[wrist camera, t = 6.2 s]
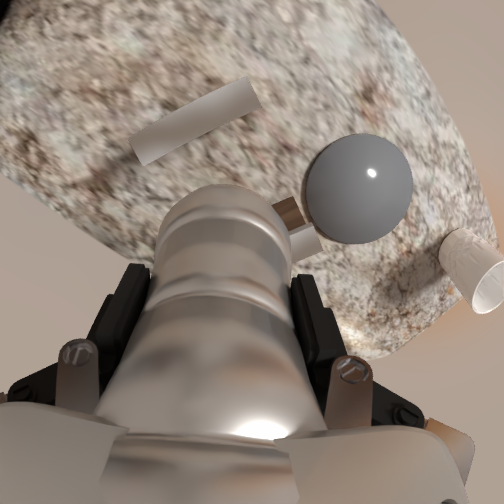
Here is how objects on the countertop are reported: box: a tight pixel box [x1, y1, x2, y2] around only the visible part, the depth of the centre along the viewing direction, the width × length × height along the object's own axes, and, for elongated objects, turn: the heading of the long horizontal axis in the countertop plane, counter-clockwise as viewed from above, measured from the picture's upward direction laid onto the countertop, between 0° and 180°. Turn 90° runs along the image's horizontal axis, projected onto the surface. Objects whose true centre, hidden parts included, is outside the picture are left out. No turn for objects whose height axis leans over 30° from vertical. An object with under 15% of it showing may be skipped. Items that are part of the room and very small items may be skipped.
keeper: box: [128, 76, 323, 263], centre depth 28 cm, size 16×10×9 cm, turn 25°
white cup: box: [438, 228, 504, 314], centre depth 33 cm, size 8×8×10 cm
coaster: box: [306, 134, 413, 244], centre depth 33 cm, size 13×13×1 cm
